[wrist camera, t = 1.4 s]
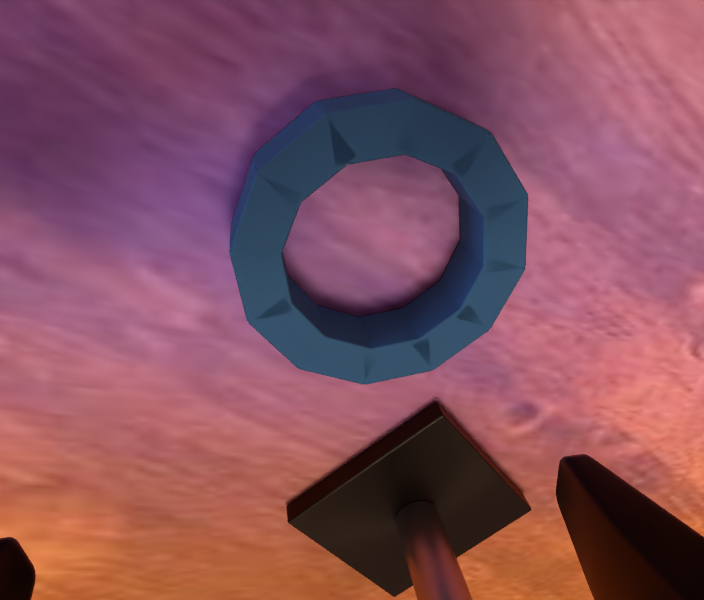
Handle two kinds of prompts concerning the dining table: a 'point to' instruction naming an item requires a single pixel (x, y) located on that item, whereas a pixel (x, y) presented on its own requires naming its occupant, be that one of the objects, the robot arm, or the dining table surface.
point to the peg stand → (411, 507)
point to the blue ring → (430, 307)
